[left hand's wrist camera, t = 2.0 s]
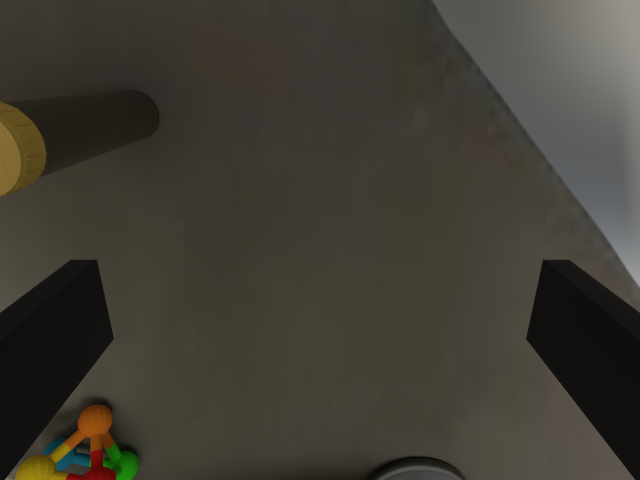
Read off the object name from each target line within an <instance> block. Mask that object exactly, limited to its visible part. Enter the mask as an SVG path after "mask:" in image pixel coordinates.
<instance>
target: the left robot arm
mask: <svg viewBox="0 0 640 480" xmlns="http://www.w3.org/2000/svg"><path fill="white" fill-rule="evenodd" d="M113 339H114V337H113V333H112V328H111V323H110V319H109V314H108V309H107V305H106V300H105V295H104V291H103V286H102V281H101V277H100V272H99V268H98V263H97V260H70V261H69V262H67V263H66V264H65V265H63V266H62V267H61V268H59V269H58V270H57V271H55V272H54V273H53V274H51V275H50V276H49V277H47V278H46V279H45V280H43V281H42V282H41V283H39V284H38V285H37V286H35V287H34V288H33V289H31V290H30V291H29V292H27V293H26V294H25V295H23V296H22V297H21V298H19V299H18V300H17V301H15V302H14V303H13V304H11V305H10V306H9V307H7V308H6V309H5V310H3V311H2V312H1V313H0V480H5V479H6V477H7V476H8V475H9V474H10V472H11V471H12V470H13V468H14V467H15V466H16V465H17V463H18V462H19V461H20V459H21V458H22V457H23V455H24V454H25V453H26V452H27V450H28V449H29V448H30V446H31V445H32V444H33V443H34V441H35V440H36V439H37V437H38V436H39V435H40V434H41V432H42V431H43V430H44V428H45V427H46V426H47V425H48V423H49V422H50V421H51V419H52V418H53V417H54V415H55V414H56V413H57V412H58V410H59V409H60V408H61V406H62V405H63V404H64V403H65V401H66V400H67V399H68V397H69V396H70V395H71V394H72V392H73V391H74V390H75V388H76V387H77V386H78V384H79V383H80V382H81V381H82V379H83V378H84V377H85V375H86V374H87V373H88V372H89V370H90V369H91V368H92V366H93V365H94V364H95V363H96V361H97V360H98V359H99V357H100V356H101V355H102V353H103V352H104V351H105V350H106V348H107V347H108V346H109V344H110V343H111V342H112V341H113ZM526 339H527V341H528V342H529V343H530V344H531V346H532V347H533V348H534V350H535V351H536V352H537V353H538V355H539V356H540V357H541V359H542V360H543V361H544V363H545V364H546V365H547V366H548V368H549V369H550V370H551V372H552V373H553V374H554V375H555V377H556V378H557V379H558V381H559V382H560V383H561V384H562V386H563V387H564V388H565V390H566V391H567V392H568V394H569V395H570V396H571V397H572V399H573V400H574V401H575V403H576V404H577V405H578V406H579V408H580V409H581V410H582V412H583V413H584V414H585V415H586V417H587V418H588V419H589V421H590V422H591V423H592V425H593V426H594V427H595V428H596V430H597V431H598V432H599V434H600V435H601V436H602V437H603V439H604V440H605V441H606V443H607V444H608V445H609V446H610V448H611V449H612V450H613V452H614V453H615V454H616V455H617V457H618V458H619V459H620V461H621V462H622V463H623V465H624V466H625V467H626V468H627V470H628V471H629V472H630V474H631V475H632V476H633V477H634V479H635V480H640V313H639V312H638V311H637V310H635V309H634V308H633V307H631V306H630V305H629V304H627V303H626V302H625V301H623V300H622V299H621V298H619V297H618V296H617V295H615V294H614V293H613V292H611V291H610V290H609V289H607V288H606V287H605V286H603V285H602V284H601V283H599V282H598V281H597V280H595V279H594V278H593V277H591V276H590V275H589V274H587V273H586V272H585V271H583V270H582V269H581V268H579V267H578V266H577V265H575V264H574V263H573V262H571V261H570V260H543V263H542V268H541V272H540V277H539V281H538V286H537V291H536V295H535V300H534V305H533V309H532V314H531V319H530V323H529V328H528V333H527V337H526ZM368 480H466V479H465V478H464V476H463V475H462V474H461V473H460V472H459V471H458V470H457V469H455V468H454V467H452V466H451V465H449V464H447V463H444V462H442V461H438V460H434V459H428V458H411V459H404V460H400V461H396V462H393V463H391V464H388V465H386V466H384V467H382V468H381V469H379V470H378V471H376V472H375V473H374V474H373V475H372V476H371V477H370V478H369V479H368Z"/></svg>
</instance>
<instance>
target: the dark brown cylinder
mask: <svg viewBox="0 0 640 480" xmlns="http://www.w3.org/2000/svg"><path fill="white" fill-rule="evenodd" d="M4 103H6V104H8V105H11V106H13V107H14V108H18V109H19V111H21V112H22V113H24V114H25V115H26V116H27V117H28V118H29V119H30V120H31V121H33V123H34V125H35V126H36V127H37V129H38V130H39V132H40V134H41V136H42V137H43V141H44V144H45V148H46V153H47V155H46V163H45V167H44V168H45V170H43V171H42V173H41V175H40V176H39V177H42V176H44V175H47V174H50V173H52V172H55V171H58V170H60V169H63V168H66V167H68V166H71V165H74V164H76V163H79V162H82V161H84V160H87V159H90V158H92V157H95V156H98V155H101V154H103V153H106V152H109V151H111V150H114V149H117V148H119V147H122V146H125V145H127V144H130V143H133V142H135V141H138V140H141V139H143V138H146V137H149V136H150V135H152V134H153V133H154V132H155V130H156V129H157V127H158V124H159V113H158V110H157V107H156V105H155V104H154V102H153V101H152V100H151V99H150V98H149V97H148V96H147V95H145V94H144V93H141V92H138V91H121V92H110V93H99V94H89V95H78V96H68V97H57V98H47V99H36V100H25V101H15V102H4ZM39 177H38V178H39Z"/></svg>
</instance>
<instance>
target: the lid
mask: <svg viewBox="0 0 640 480" xmlns="http://www.w3.org/2000/svg"><path fill="white" fill-rule="evenodd" d="M46 155H47V153H46V148H45V144H44V141H43V137H42V136H41V134H40V132H39V130H38V129H37V127H36V126H35V125H34V123H33V121H31V120H30V119H29V118H28V117H27V116H26V115H25V114H24V113H22V112H21V111H19V109H18V108H14V107H13V106H11V105H8V104H6V103H3V102H2V101H0V196H1V195H4V196H6V195H8V194H11V193H13V192H16V191H19V190H21V189H24V188H25V186H27V185H30V184H31V183H34V182H36V181H37V179H38V177H39V176H40V175H41V173H42V171H43V170H45V168H44V167H45V163H46Z"/></svg>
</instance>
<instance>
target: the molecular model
mask: <svg viewBox="0 0 640 480" xmlns="http://www.w3.org/2000/svg"><path fill="white" fill-rule="evenodd" d="M112 421H113V415H112V412H111V411H110V409H109V408H108V407H107V406H104V405H101V404H96V405H92V406H90V407H88V408H86V409H85V410H84V411H83V412H82V413H81V415H80V417H79V419H78V430H77V431H76V432H75V433H74V434H72V435H71V436H70V437H69V438H68V439H65V438H60V439H56V440H54V441H52V442H51V443H49V444H48V445H47V446H46V447H45V449H44V451H43V453H42V454H40V455H35V456H32V457H30V458H28V459H27V460H25V461H24V462H23V463H22V464H21V465H20V467H19V469H18V471H17V473H16V476H15V480H131V479H132V478H133V477H134V476H135V475H136V473H137V470H138V466H139V462H138V459H137V457H136V455H135V454H134V453H132V452H129V451H121V452H120V450H119V449H118V447H117V445H116V443H115V442H114V440H113V438H112V436H111V435H110V433H109V431H108V430H109V429H110V427H111V425H112ZM85 437H87V438H90V452H91V455H87V454H82V453H77V452H76V446H77V445H78V444H79V443H80V442H81V441H82V440H83V439H84V438H85ZM102 445H103V447H104V448H105V450H106V452H107V453H108V455H109V457H110V459H107V458H103V447H102ZM71 463H73V464H78V465H84V466H89V467H91V470H89V471H88V472H87V473H86V474H85V475H84V476H82V475H76V474H71V473H66V472H61V471H62V470H64V469H66V468H67V467H69V466H70V465H71Z"/></svg>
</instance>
